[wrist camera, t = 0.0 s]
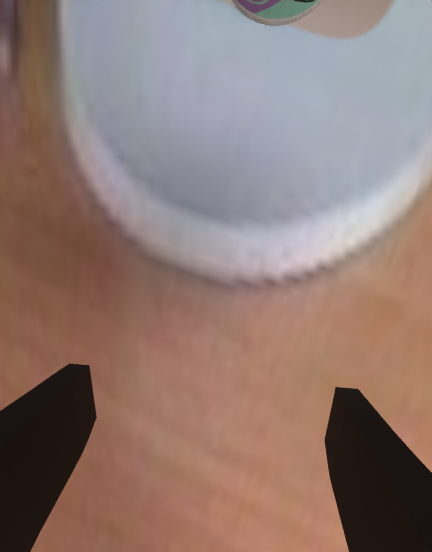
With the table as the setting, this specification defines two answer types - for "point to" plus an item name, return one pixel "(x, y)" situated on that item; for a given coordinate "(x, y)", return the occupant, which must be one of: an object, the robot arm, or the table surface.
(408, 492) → the robot arm
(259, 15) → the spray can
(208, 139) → the table surface
